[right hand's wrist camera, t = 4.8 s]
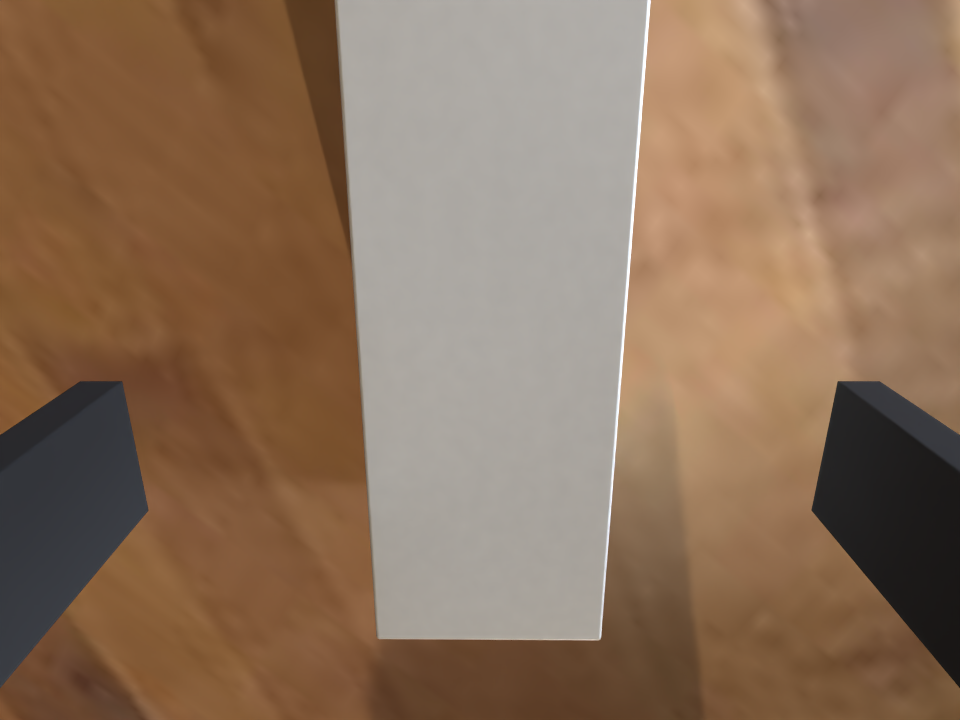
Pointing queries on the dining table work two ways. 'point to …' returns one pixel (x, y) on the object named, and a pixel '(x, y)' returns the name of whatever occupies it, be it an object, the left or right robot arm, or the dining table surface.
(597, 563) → the post
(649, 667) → the dining table surface
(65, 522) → the right robot arm
